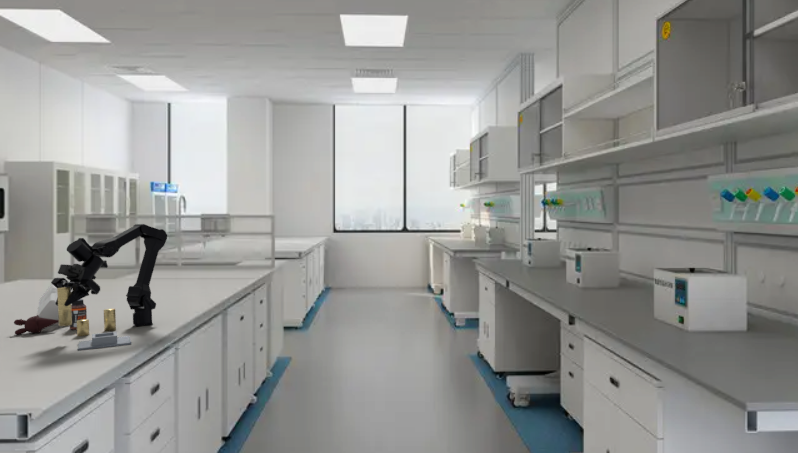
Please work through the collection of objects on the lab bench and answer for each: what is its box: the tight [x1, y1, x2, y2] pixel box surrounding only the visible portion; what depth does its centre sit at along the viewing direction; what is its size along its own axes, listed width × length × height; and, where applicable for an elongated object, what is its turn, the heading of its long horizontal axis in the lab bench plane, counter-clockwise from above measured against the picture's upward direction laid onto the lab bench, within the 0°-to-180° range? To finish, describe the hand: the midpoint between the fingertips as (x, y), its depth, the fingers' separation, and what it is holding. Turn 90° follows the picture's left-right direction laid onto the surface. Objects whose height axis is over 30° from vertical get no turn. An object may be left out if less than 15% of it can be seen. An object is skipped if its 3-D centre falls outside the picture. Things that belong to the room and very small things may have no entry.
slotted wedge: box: [35, 283, 72, 326], centre depth 239 cm, size 14×11×18 cm
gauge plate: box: [77, 331, 132, 351], centre depth 200 cm, size 16×12×3 cm
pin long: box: [57, 287, 72, 327], centre depth 202 cm, size 4×4×13 cm
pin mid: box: [103, 308, 117, 332], centre depth 223 cm, size 4×4×8 cm
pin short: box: [76, 318, 90, 337], centre depth 215 cm, size 4×4×6 cm
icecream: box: [13, 314, 59, 335], centre depth 221 cm, size 7×7×15 cm
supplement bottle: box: [69, 298, 88, 331], centre depth 228 cm, size 6×6×11 cm
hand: (60, 305), depth 201 cm, fingers closed on pin long, 4 cm apart
